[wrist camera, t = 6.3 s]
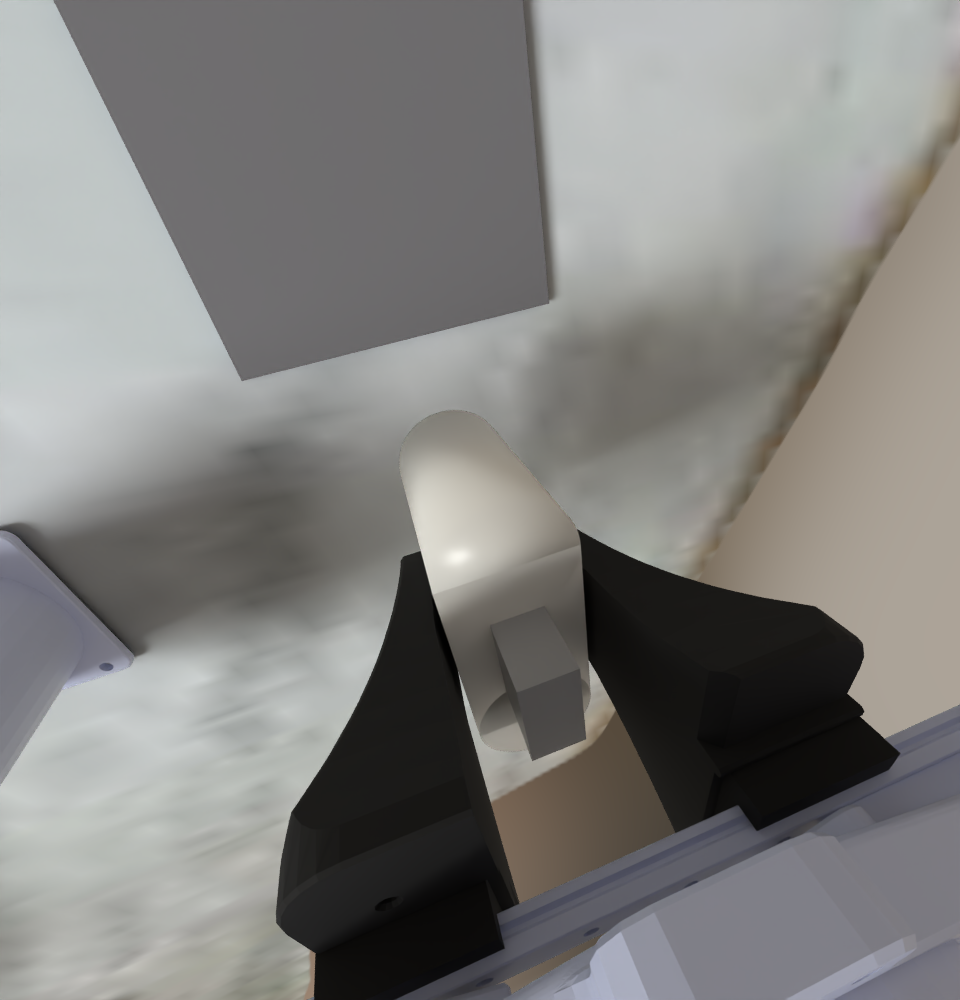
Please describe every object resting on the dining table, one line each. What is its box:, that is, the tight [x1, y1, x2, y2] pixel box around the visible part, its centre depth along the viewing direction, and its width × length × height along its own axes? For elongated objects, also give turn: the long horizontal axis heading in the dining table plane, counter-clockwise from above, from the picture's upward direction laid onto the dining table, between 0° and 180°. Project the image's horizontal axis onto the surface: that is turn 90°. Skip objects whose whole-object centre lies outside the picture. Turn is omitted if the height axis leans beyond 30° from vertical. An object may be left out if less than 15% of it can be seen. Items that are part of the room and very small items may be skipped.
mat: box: [54, 0, 549, 381], centre depth 14 cm, size 12×10×1 cm
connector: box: [399, 410, 591, 761], centre depth 11 cm, size 3×8×7 cm, turn 10°
